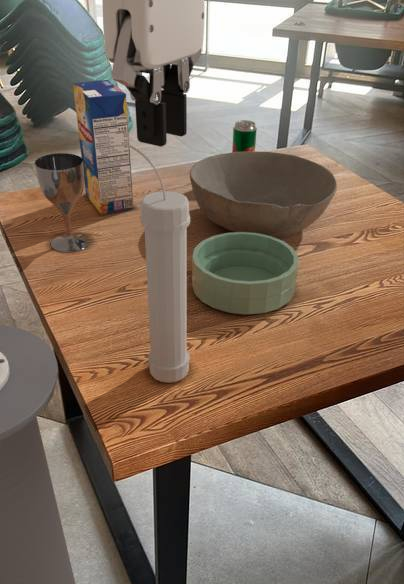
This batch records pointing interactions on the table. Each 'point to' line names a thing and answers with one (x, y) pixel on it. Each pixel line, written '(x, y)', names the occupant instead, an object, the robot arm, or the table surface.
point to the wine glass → (63, 193)
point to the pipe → (166, 281)
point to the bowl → (262, 191)
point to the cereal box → (104, 144)
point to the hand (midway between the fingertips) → (162, 136)
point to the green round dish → (244, 272)
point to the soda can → (244, 136)
